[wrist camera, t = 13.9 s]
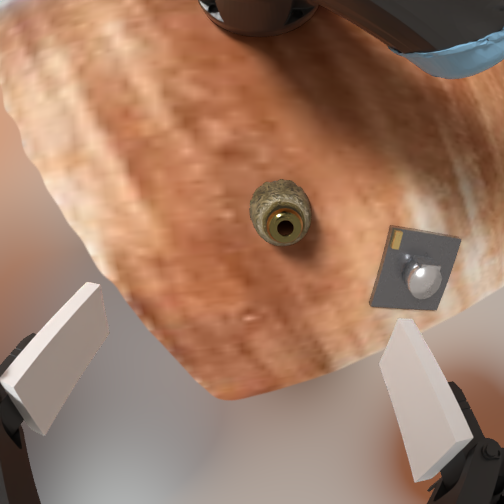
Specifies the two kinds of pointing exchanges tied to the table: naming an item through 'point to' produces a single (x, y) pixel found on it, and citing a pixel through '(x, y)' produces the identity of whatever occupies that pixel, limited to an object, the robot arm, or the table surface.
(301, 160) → the table surface
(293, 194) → the scalloped lamp shade
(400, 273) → the grey plate with knob
